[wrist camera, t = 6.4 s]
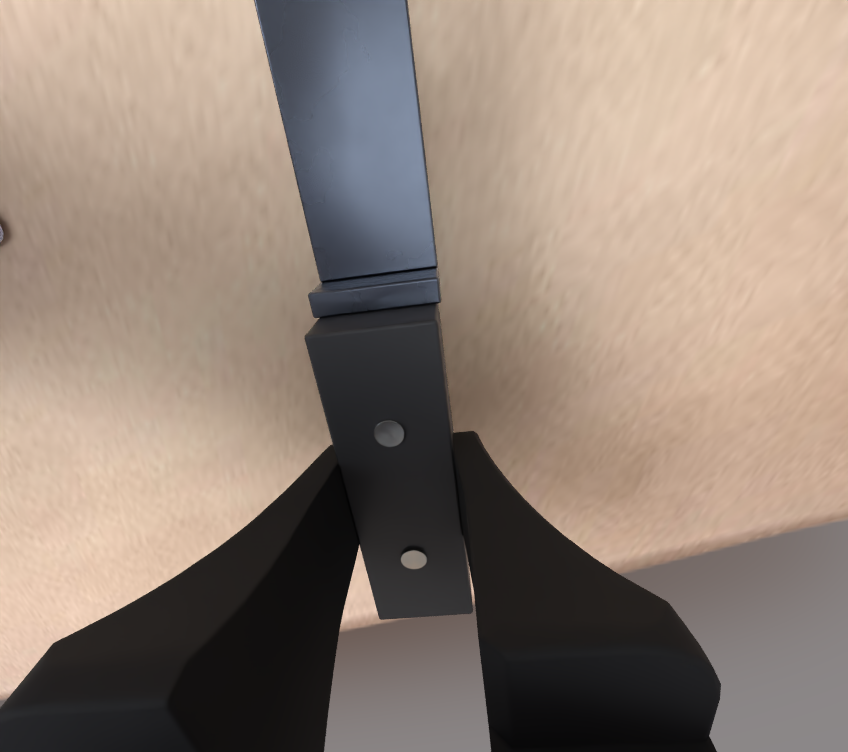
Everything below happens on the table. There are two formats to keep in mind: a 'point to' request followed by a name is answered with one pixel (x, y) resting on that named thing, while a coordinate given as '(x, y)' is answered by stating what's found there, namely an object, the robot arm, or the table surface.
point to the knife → (374, 289)
